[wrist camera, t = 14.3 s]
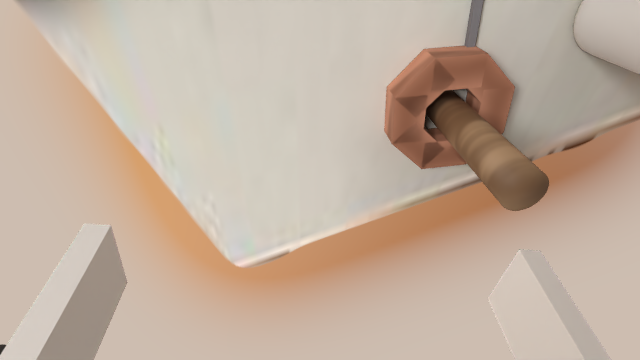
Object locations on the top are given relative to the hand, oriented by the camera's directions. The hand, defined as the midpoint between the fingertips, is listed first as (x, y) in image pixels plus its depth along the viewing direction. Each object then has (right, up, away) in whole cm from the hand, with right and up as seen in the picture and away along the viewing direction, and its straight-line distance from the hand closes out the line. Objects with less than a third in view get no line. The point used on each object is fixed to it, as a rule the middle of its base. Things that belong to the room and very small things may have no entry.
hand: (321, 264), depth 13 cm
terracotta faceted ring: (+13, +11, +28) cm, 33 cm away
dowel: (+13, +11, +28) cm, 33 cm away
